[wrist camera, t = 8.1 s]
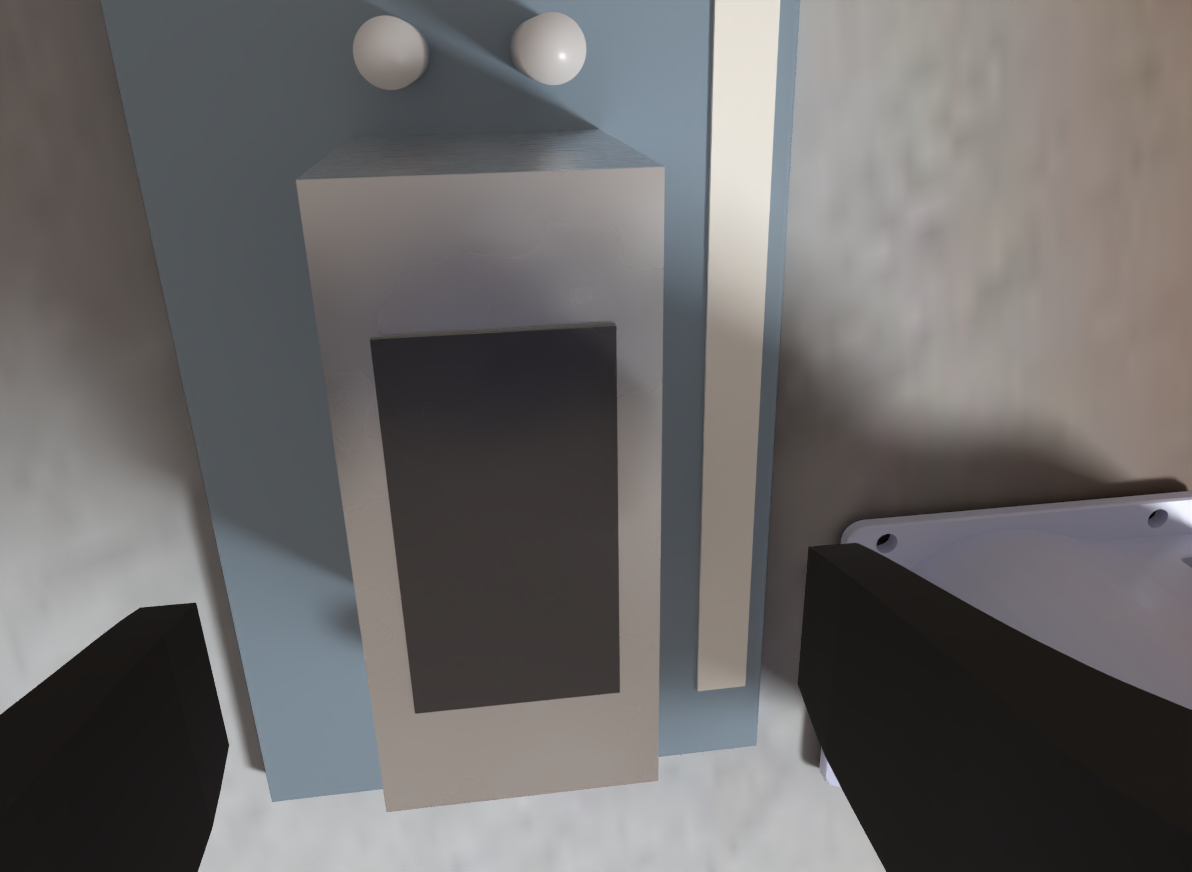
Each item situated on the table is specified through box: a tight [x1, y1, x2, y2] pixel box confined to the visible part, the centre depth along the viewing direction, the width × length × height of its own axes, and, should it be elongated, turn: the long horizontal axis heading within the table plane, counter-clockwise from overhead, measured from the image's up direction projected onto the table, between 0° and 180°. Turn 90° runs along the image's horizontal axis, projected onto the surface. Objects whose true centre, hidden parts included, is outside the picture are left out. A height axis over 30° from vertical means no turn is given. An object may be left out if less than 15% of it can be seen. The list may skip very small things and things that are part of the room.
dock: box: [100, 0, 800, 802], centre depth 18 cm, size 12×20×4 cm, turn 2°
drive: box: [296, 129, 665, 812], centre depth 16 cm, size 4×10×6 cm, turn 1°
